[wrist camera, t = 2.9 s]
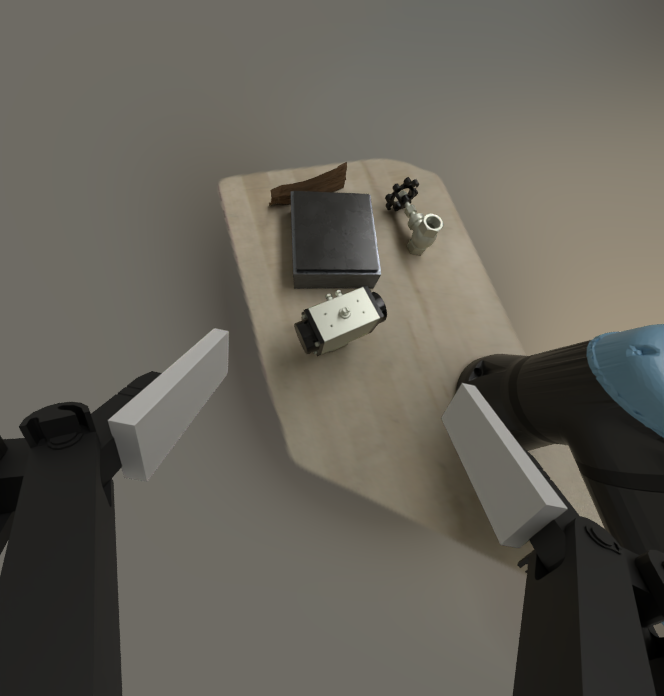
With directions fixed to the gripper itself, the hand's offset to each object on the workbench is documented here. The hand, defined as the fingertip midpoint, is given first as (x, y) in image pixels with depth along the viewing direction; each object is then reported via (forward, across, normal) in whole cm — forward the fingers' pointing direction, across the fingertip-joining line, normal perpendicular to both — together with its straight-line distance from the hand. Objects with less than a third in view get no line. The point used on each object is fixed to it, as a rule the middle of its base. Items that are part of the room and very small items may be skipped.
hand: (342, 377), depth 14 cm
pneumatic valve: (+25, 0, -10) cm, 27 cm away
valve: (+43, +11, +8) cm, 45 cm away
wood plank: (+44, -10, +9) cm, 46 cm away
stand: (+37, -3, +2) cm, 37 cm away
